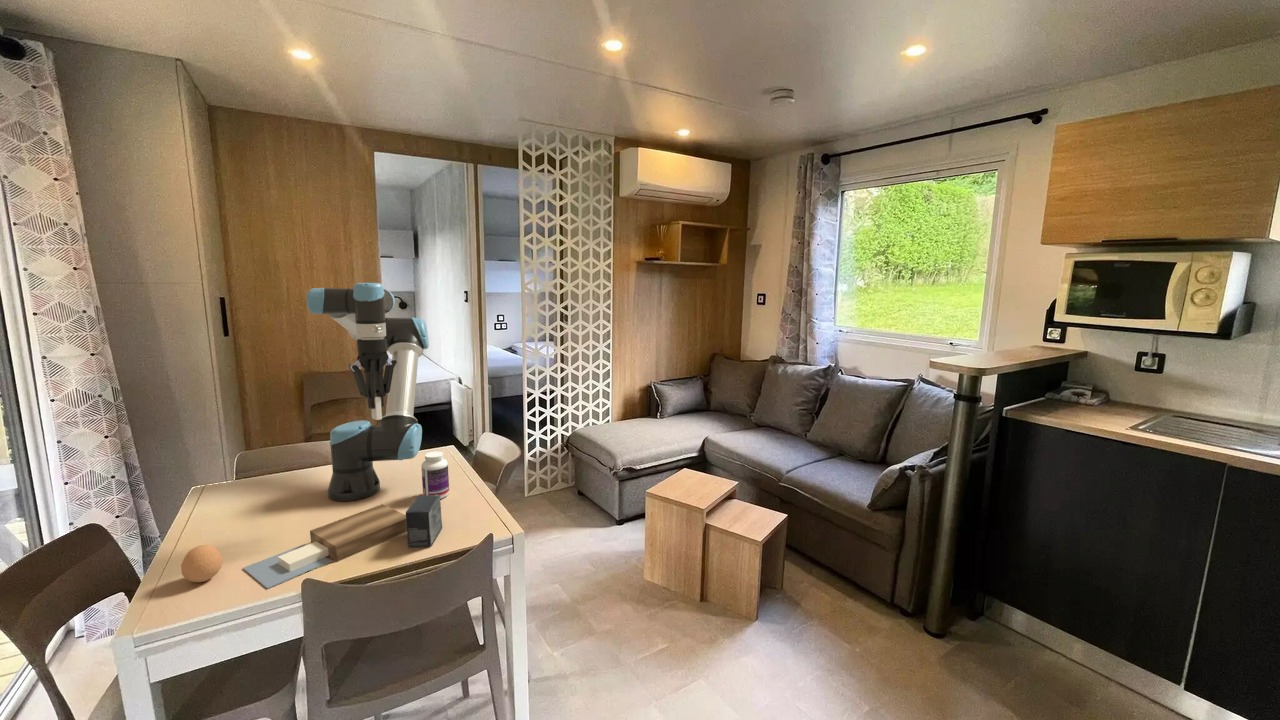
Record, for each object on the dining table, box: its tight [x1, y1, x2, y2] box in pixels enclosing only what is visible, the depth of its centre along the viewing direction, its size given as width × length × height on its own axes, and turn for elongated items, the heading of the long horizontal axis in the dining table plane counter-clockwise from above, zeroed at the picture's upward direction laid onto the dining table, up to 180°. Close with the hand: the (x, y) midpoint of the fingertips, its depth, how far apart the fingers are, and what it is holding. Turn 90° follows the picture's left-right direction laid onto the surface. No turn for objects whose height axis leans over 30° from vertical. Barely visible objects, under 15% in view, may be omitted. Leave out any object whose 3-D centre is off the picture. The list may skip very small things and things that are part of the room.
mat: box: [242, 543, 332, 590], centre depth 128 cm, size 14×14×1 cm
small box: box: [405, 494, 443, 549], centre depth 142 cm, size 11×6×10 cm, turn 5°
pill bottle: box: [420, 451, 450, 500], centre depth 168 cm, size 8×8×14 cm
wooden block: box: [309, 503, 407, 562], centre depth 142 cm, size 14×20×4 cm
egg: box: [180, 544, 223, 583], centre depth 121 cm, size 7×7×8 cm
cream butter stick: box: [278, 541, 330, 572], centre depth 130 cm, size 6×9×2 cm, turn 148°
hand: (377, 418), depth 149 cm, fingers closed
